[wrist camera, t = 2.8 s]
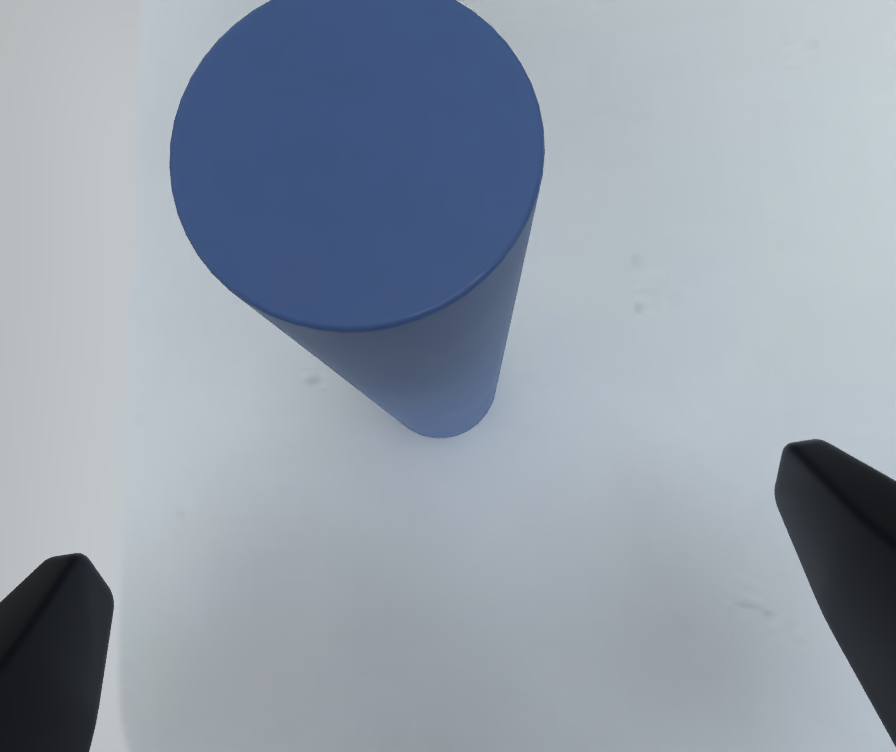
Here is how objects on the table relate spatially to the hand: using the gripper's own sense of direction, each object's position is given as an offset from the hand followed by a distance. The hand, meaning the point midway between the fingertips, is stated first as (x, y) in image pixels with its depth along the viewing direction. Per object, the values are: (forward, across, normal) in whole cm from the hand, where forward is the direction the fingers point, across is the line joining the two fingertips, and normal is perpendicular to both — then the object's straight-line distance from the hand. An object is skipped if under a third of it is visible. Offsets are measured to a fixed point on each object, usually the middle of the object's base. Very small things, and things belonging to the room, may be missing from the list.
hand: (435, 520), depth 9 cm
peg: (+10, 0, +5) cm, 11 cm away
